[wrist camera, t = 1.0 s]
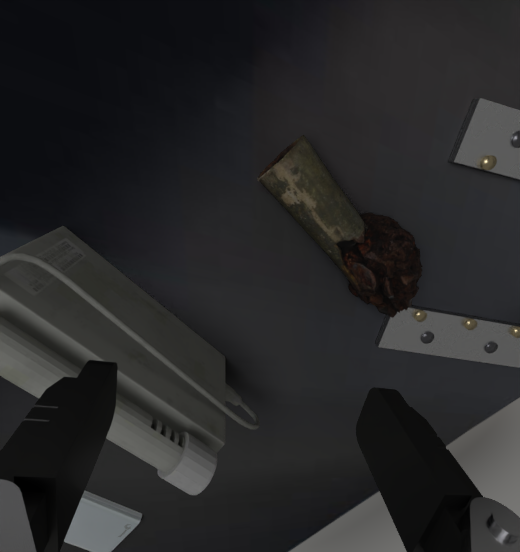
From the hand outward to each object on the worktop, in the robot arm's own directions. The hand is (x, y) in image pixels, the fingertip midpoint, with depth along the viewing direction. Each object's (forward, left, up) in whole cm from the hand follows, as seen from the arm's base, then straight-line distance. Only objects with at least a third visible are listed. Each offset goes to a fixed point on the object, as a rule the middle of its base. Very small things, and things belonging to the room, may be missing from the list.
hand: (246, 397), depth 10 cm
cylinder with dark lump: (-3, +10, -21) cm, 23 cm away
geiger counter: (+10, -5, -21) cm, 24 cm away
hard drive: (+39, -12, -21) cm, 46 cm away
